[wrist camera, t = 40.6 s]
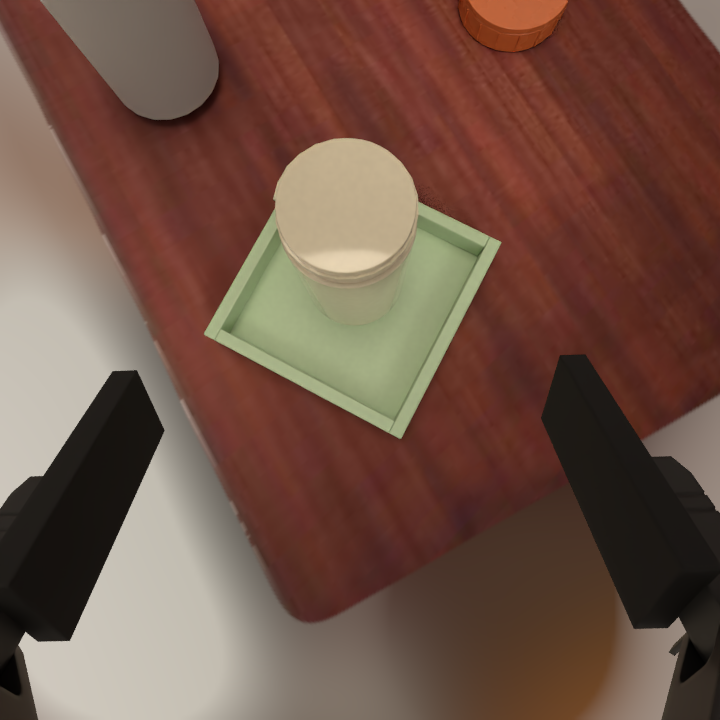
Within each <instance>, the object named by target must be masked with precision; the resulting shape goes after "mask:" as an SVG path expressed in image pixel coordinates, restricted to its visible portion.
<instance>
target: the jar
mask: <svg viewBox="0 0 720 720" xmlns="http://www.w3.org/2000/svg"><path fill="white" fill-rule="evenodd" d="M273 200H274V201H276V202H275V212H276V221H275V222H276V225H277V229H278V232H279V236H280V239H281V243H282V245H283V248H284V250H285V252H286V254H287V256H288V258H289V260H290V262H291V263H292V265H293V267H294V269H295V271H296V273H297V275H298V276H299V278H300V280H301V282H302V284H303V286H304V287H305V289H306V291H307V293H308V295H309V297H310V299H311V300H312V302H313V304H314V305H315V307H316V308H317V309H318V310H319V311H320V312H321V313H322V314H323V315H324V316H326V317H327V318H329V319H330V320H333V321H335V322H337V323H340V324H344V325H353V326H357V325H364V324H369V323H371V322H374V321H376V320H378V319H380V318H382V317H383V316H384V315H386V314H387V313H388V312H389V311H390V310H391V309H392V308H393V307H394V305H395V304H396V302H397V301H398V299H399V296H400V294H401V291H402V288H403V284H404V280H405V276H406V272H407V268H408V264H409V260H410V256H411V253H412V249H413V245H414V241H415V237H416V231H417V219H418V215H419V211H418V195H417V192H416V189H415V186H414V183H413V179H412V177H411V176H410V174H409V173H408V171H407V170H406V168H405V167H404V165H403V163H402V162H400V161H399V160H398V159H397V158H396V157H395V156H394V155H393V154H391V153H390V152H389V151H388V150H386V149H384V148H382V147H381V146H379V145H376V144H374V143H372V142H369V141H365V140H361V139H354V138H341V139H332V140H329V141H325V142H322V143H319V144H318V143H317V144H315V145H314V146H312V147H310V148H309V149H307V150H305V151H304V152H302V153H300V154H299V155H298V156H297V157H296V158H295V159H294V160H293V161H292V162H291V163H290V164H289V165H287V167H286V169H285V171H284V172H283V174H282V176H281V178H280V179H279V181H278V183H277V187H276V190H275V194H274V198H273Z"/></svg>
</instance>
